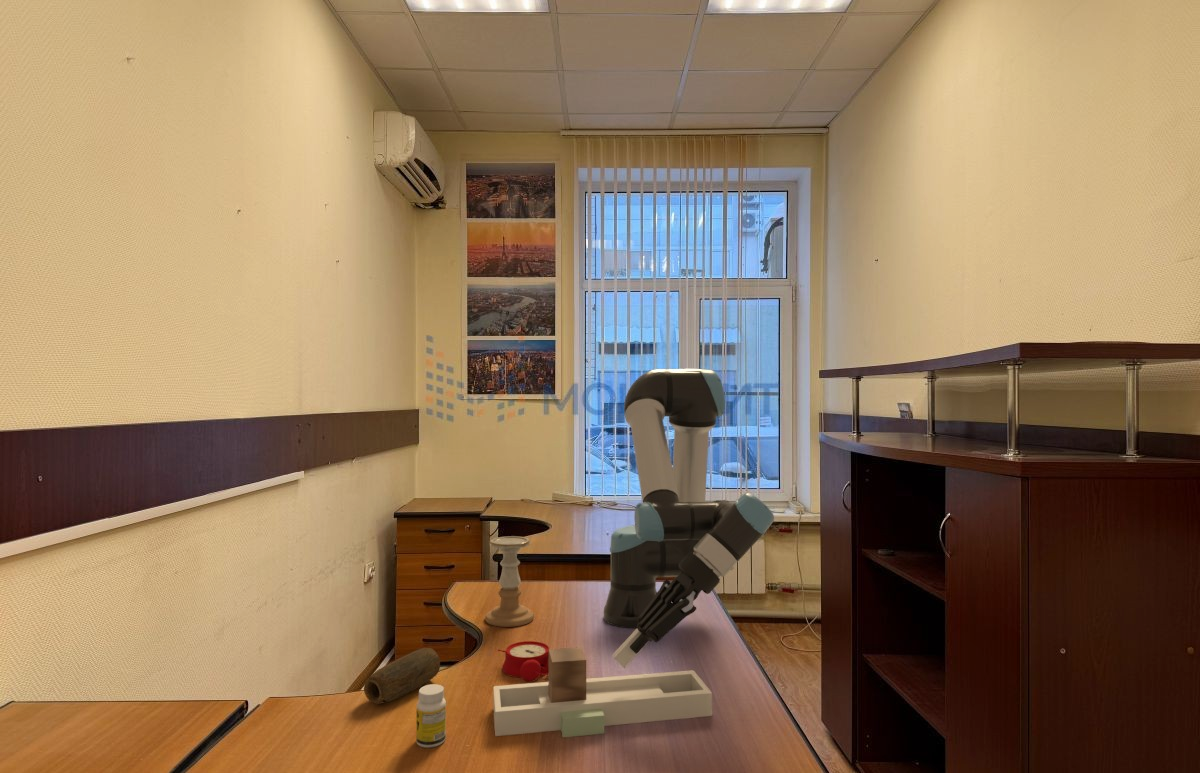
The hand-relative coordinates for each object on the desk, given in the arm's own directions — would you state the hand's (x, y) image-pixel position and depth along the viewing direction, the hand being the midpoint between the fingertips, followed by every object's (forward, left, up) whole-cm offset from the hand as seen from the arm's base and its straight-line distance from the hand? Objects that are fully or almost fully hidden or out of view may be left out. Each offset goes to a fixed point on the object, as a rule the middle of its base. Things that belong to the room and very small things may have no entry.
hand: (618, 661), depth 117 cm
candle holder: (-8, -56, -9) cm, 57 cm away
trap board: (+3, -1, -9) cm, 9 cm away
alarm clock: (+4, -25, -9) cm, 27 cm away
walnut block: (+8, -4, -6) cm, 11 cm away
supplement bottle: (+31, -10, -9) cm, 34 cm away
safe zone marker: (+7, -3, -9) cm, 12 cm away
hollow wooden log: (+29, -30, -9) cm, 43 cm away
